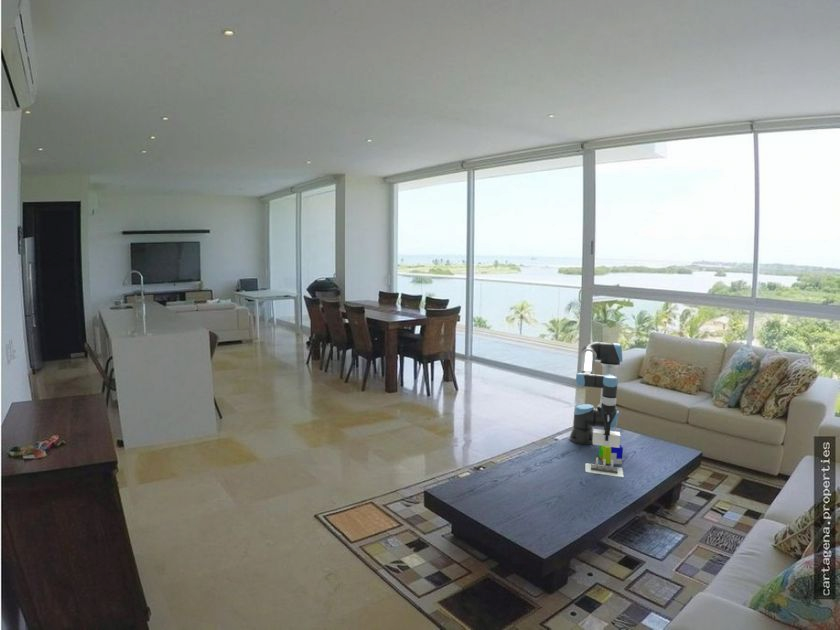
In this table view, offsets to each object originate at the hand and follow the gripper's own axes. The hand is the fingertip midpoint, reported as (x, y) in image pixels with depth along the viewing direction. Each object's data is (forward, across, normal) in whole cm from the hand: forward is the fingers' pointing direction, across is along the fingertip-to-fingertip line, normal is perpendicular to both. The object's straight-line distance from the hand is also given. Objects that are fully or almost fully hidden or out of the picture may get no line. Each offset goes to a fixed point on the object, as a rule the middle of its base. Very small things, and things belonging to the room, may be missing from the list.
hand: (605, 443), depth 292 cm
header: (+16, 0, 0) cm, 16 cm away
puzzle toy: (+16, -16, +4) cm, 23 cm away
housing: (0, 0, 0) cm, 0 cm away
